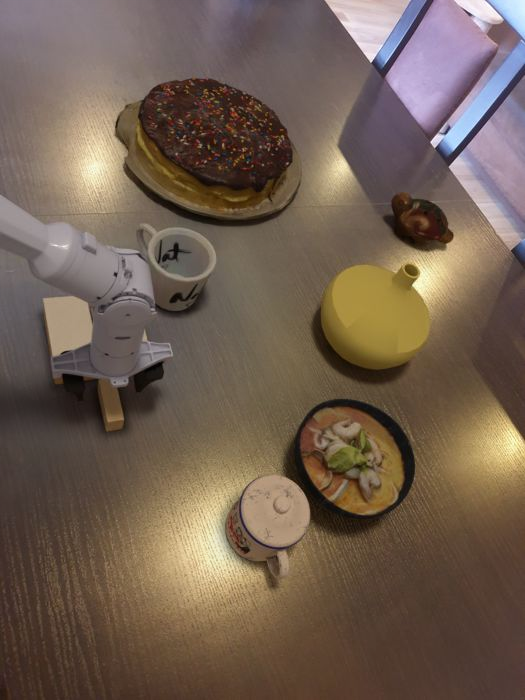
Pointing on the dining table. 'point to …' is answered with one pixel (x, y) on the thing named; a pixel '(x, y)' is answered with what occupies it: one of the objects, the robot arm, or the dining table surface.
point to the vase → (375, 316)
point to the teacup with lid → (268, 521)
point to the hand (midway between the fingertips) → (108, 390)
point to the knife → (109, 401)
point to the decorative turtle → (420, 220)
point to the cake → (210, 150)
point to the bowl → (353, 459)
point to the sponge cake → (68, 325)
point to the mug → (177, 264)
